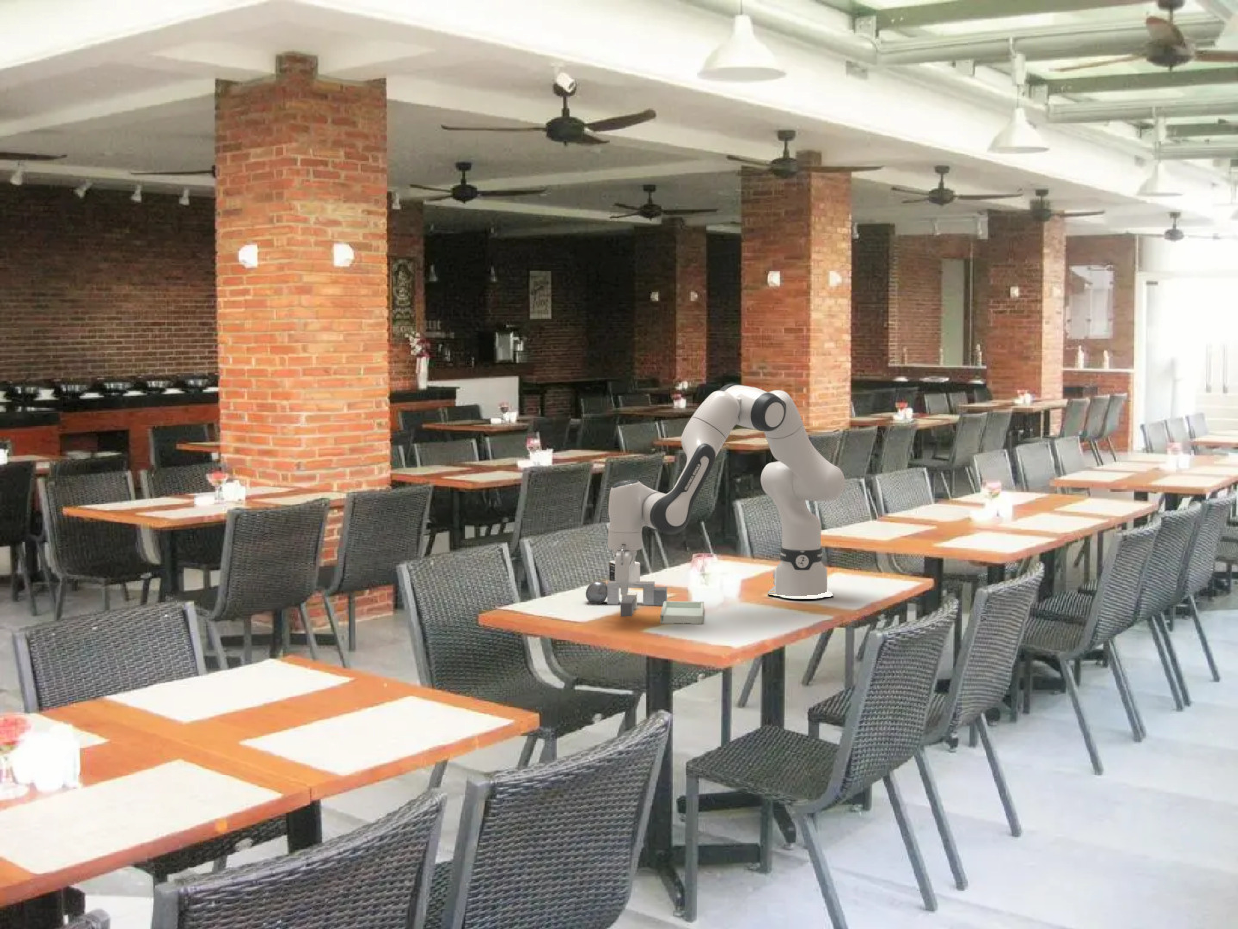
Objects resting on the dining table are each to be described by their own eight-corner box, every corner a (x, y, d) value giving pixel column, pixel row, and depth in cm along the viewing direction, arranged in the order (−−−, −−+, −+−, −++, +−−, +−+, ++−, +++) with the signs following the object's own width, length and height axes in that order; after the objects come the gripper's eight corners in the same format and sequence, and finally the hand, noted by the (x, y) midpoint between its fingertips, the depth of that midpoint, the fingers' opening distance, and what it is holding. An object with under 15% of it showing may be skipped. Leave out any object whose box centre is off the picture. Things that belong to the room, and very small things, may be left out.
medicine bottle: (608, 584, 404) (609, 544, 403) (630, 582, 407) (630, 543, 406) (618, 587, 397) (618, 548, 396) (640, 586, 400) (640, 546, 399)
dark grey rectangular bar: (622, 606, 369) (622, 592, 369) (637, 606, 369) (637, 592, 368) (618, 616, 355) (618, 601, 355) (633, 616, 355) (633, 601, 355)
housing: (587, 601, 376) (587, 580, 376) (667, 602, 374) (667, 581, 374) (585, 604, 371) (585, 583, 371) (666, 605, 370) (666, 584, 369)
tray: (663, 608, 366) (663, 601, 366) (703, 609, 365) (703, 601, 365) (660, 623, 346) (660, 615, 346) (702, 624, 345) (702, 616, 345)
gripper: (634, 547, 337) (633, 601, 338) (639, 537, 358) (638, 588, 359) (609, 547, 338) (609, 601, 339) (615, 536, 358) (615, 587, 359)
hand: (624, 594), depth 349 cm, fingers closed
